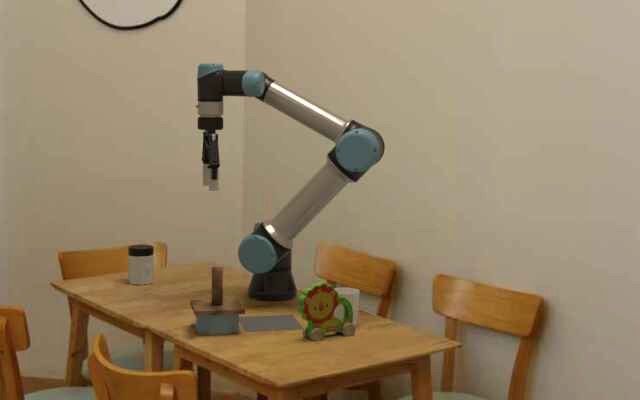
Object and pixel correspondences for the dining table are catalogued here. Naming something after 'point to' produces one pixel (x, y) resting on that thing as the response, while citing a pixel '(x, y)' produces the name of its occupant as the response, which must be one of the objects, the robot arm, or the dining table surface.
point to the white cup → (352, 297)
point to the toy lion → (324, 312)
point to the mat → (269, 323)
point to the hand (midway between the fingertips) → (210, 188)
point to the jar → (141, 264)
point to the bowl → (217, 324)
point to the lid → (217, 299)
